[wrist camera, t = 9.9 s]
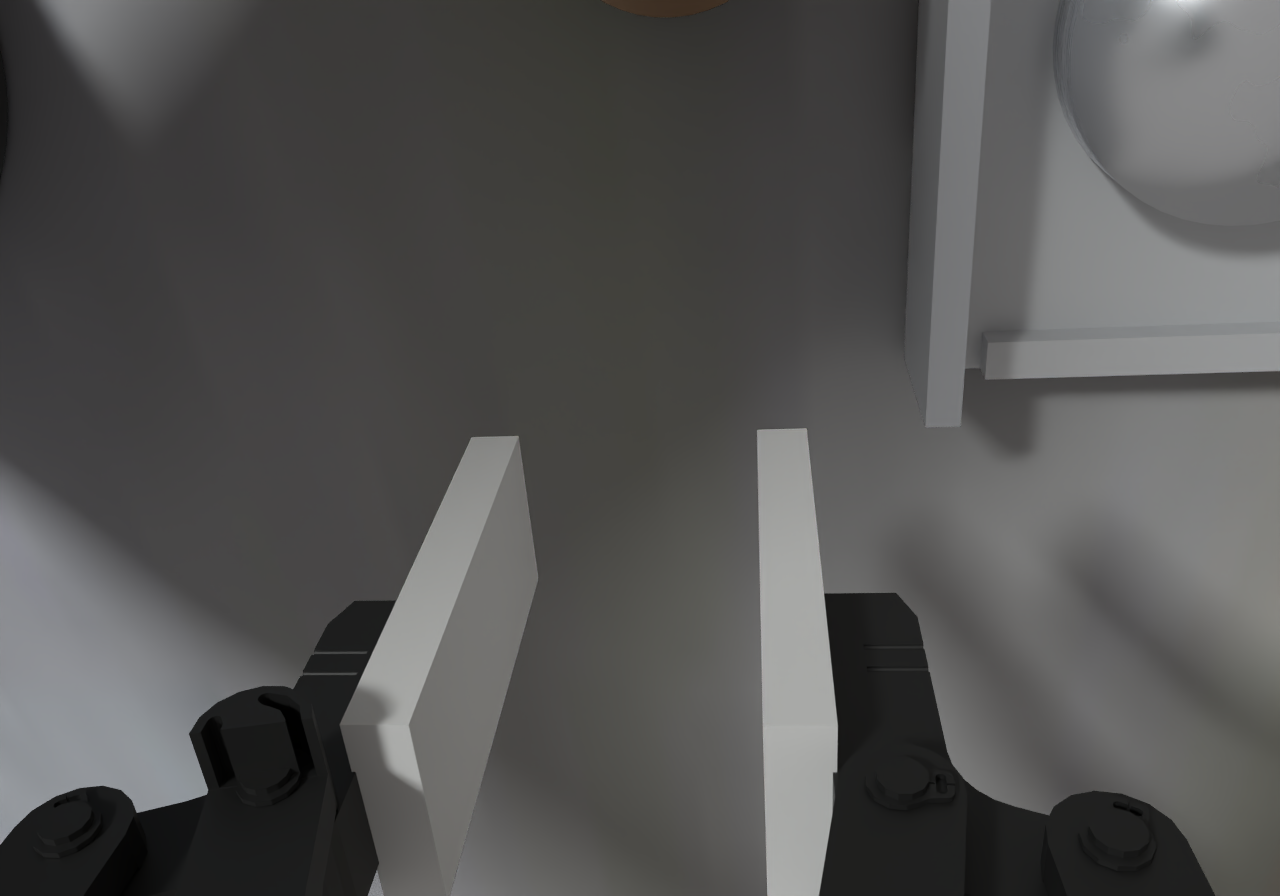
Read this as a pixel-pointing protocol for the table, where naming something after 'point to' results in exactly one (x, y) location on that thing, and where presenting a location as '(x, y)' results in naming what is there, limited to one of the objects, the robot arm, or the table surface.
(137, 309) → the table surface
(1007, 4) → the tray
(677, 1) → the brown rounded cylinder
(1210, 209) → the disc
